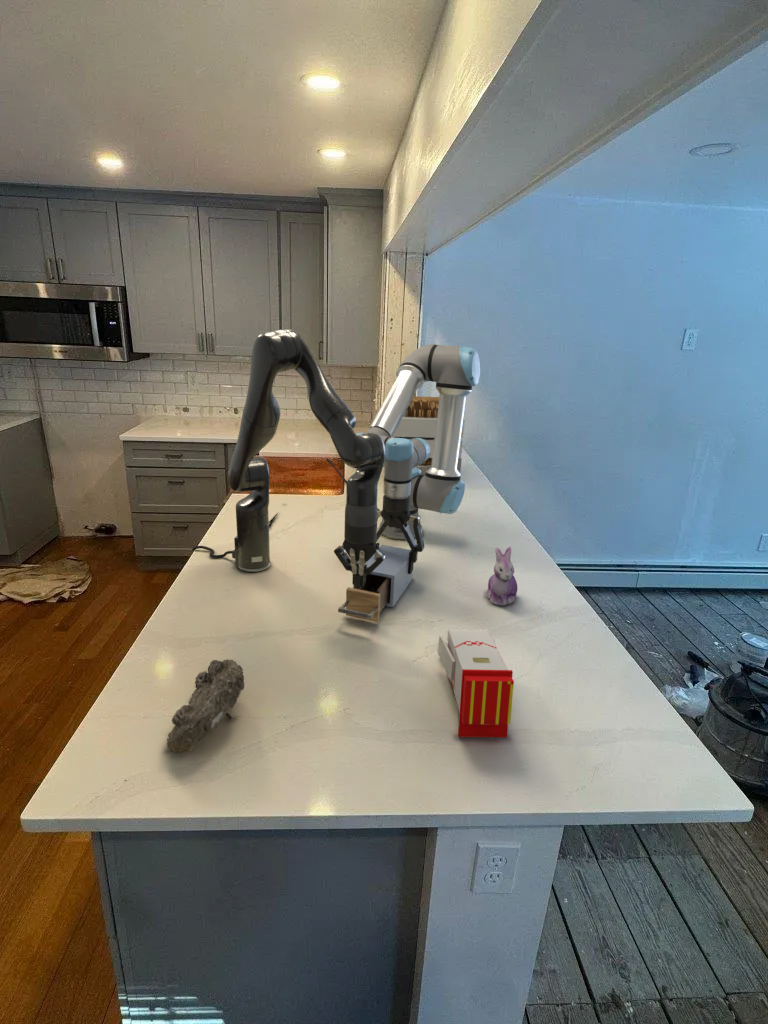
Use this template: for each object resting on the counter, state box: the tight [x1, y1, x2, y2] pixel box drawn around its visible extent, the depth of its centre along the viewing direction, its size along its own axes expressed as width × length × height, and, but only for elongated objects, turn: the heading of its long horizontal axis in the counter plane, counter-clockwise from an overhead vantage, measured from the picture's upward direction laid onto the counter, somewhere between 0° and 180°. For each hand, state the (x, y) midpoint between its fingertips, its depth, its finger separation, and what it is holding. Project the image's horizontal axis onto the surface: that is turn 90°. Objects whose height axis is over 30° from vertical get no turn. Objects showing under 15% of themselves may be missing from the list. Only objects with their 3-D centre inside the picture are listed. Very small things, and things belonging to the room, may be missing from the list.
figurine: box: [486, 546, 518, 606], centre depth 155 cm, size 9×10×15 cm
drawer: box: [337, 574, 391, 623], centre depth 147 cm, size 22×9×8 cm, turn 161°
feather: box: [269, 512, 279, 528], centre depth 210 cm, size 2×28×2 cm
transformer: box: [383, 395, 465, 475], centre depth 268 cm, size 34×33×41 cm
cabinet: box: [367, 544, 413, 608], centre depth 158 cm, size 18×10×9 cm, turn 161°
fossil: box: [166, 658, 245, 754], centre depth 106 cm, size 22×10×15 cm
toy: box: [437, 628, 515, 738], centre depth 117 cm, size 12×13×30 cm
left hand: (358, 587), depth 137 cm, fingers closed
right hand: (392, 568), depth 163 cm, fingers closed on cabinet, 10 cm apart
